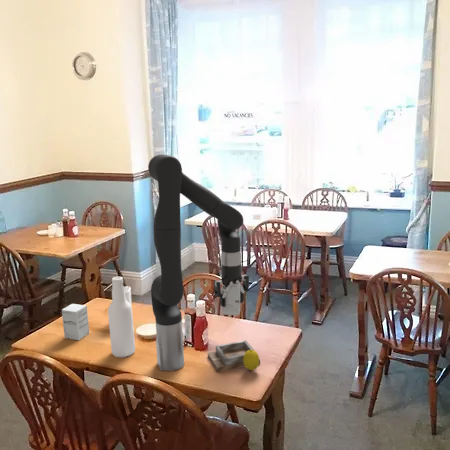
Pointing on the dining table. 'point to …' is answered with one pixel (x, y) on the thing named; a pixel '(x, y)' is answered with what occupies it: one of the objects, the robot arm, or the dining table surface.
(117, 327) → the alcohol
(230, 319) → the dining table surface
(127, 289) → the cup
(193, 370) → the dining table surface
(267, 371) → the dining table surface
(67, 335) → the supplement box
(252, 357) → the lemon
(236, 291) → the skincare box
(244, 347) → the grey open rectangular piece
